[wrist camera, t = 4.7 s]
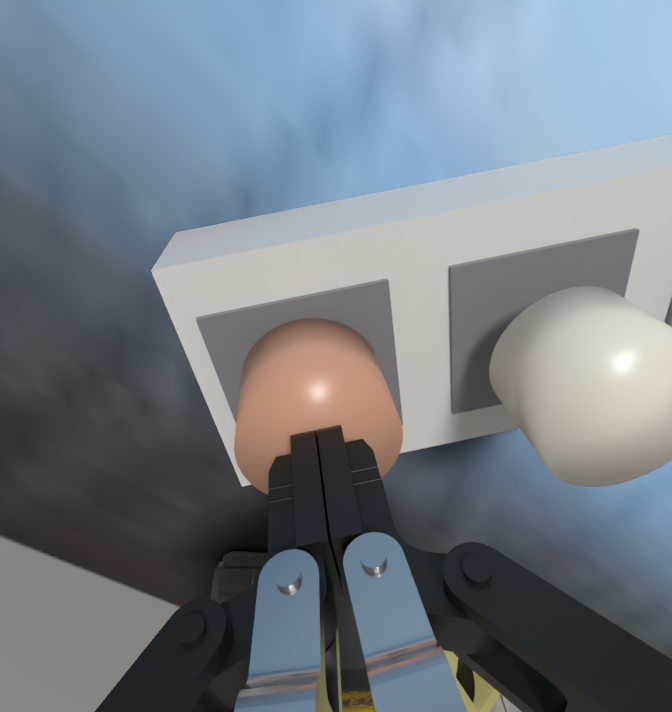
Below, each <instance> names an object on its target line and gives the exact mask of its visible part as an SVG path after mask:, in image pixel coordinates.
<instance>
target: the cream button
mask: <svg viewBox="0 0 672 712" xmlns="http://www.w3.org/2000/svg"><path fill="white" fill-rule="evenodd" d="M489 377H490V382H491V386H492V388H493V390H494V392H495V394H496V395H497V397H498V398H499V399H500V401H501V402H502V404H503V405H504V406H505V408H506V409H507V411H508V412H509V413H510V415H511V416H512V418H513V419H514V420H515V422H516V423H517V424H518V426H519V427H520V429H521V430H522V431H523V433H524V434H525V436H526V437H527V438H528V440H529V441H530V443H531V444H532V445H533V447H534V448H535V450H536V451H537V452H538V454H539V455H540V456H541V458H542V459H543V461H544V462H545V463H546V465H547V466H548V468H549V469H550V470H551V472H552V473H553V474H554V475H555V476H557V477H558V478H560V479H561V480H563V481H565V482H568V483H570V484H574V485H578V486H586V487H598V486H608V485H614V484H618V483H622V482H626V481H629V480H632V479H635V478H638V477H640V476H643V475H645V474H648V473H650V472H652V471H654V470H656V469H658V468H659V467H661V466H663V465H665V464H666V463H668V462H670V461H671V460H672V327H671V326H669V325H668V324H666V323H664V322H663V321H661V320H659V319H658V318H656V317H655V316H653V315H651V314H650V313H648V312H646V311H645V310H643V309H641V308H640V307H638V306H637V305H635V304H633V303H632V302H630V301H628V300H627V299H625V298H623V297H622V296H620V295H619V294H617V293H615V292H613V291H611V290H609V289H606V288H602V287H596V286H578V287H571V288H567V289H564V290H560V291H558V292H555V293H552V294H550V295H548V296H546V297H544V298H542V299H540V300H538V301H537V302H535V303H534V304H532V305H530V306H529V307H528V308H527V309H525V310H524V311H523V312H521V313H520V314H519V315H518V316H517V317H516V318H515V319H514V320H513V321H512V322H511V323H510V325H509V326H508V327H507V328H506V329H505V331H504V332H503V334H502V335H501V336H500V338H499V340H498V342H497V344H496V346H495V348H494V350H493V353H492V356H491V360H490V367H489Z"/></svg>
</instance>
